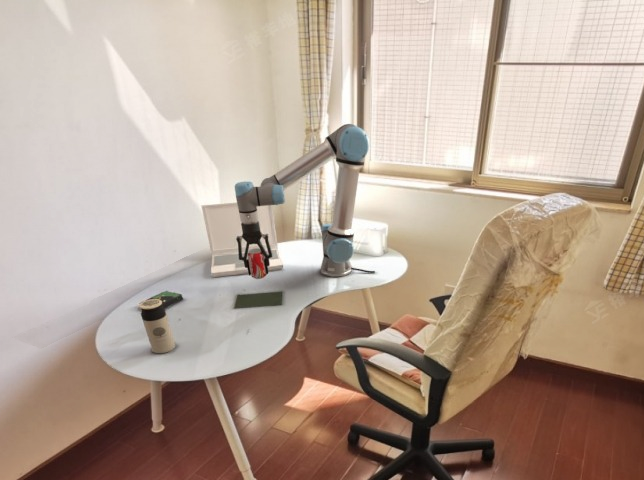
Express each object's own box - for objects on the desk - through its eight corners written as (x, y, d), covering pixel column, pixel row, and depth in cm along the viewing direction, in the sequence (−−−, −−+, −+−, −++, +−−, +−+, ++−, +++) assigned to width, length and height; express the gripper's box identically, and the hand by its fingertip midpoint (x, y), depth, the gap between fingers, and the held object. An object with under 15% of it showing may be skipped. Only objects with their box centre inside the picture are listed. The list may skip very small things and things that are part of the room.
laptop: (212, 278, 224) (199, 218, 208) (213, 260, 245) (201, 205, 229) (283, 269, 230) (276, 211, 214) (278, 253, 251) (271, 199, 235)
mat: (282, 291, 207) (282, 291, 207) (281, 304, 196) (281, 304, 196) (237, 295, 206) (237, 294, 206) (234, 308, 194) (234, 308, 194)
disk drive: (157, 313, 193) (183, 299, 203) (155, 307, 191) (182, 293, 202) (140, 309, 197) (167, 295, 208) (138, 303, 196) (165, 289, 206)
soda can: (263, 280, 203) (259, 253, 196) (248, 279, 204) (244, 253, 198) (269, 274, 209) (265, 248, 202) (254, 273, 210) (250, 247, 203)
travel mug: (154, 344, 170) (139, 300, 160) (176, 341, 172) (163, 297, 162) (151, 355, 164) (136, 309, 154) (174, 352, 165) (161, 306, 155)
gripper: (224, 226, 189) (235, 278, 202) (273, 222, 190) (280, 274, 203) (226, 221, 195) (237, 272, 208) (274, 217, 197) (281, 268, 209)
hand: (258, 273), depth 206 cm, fingers closed on soda can, 7 cm apart
